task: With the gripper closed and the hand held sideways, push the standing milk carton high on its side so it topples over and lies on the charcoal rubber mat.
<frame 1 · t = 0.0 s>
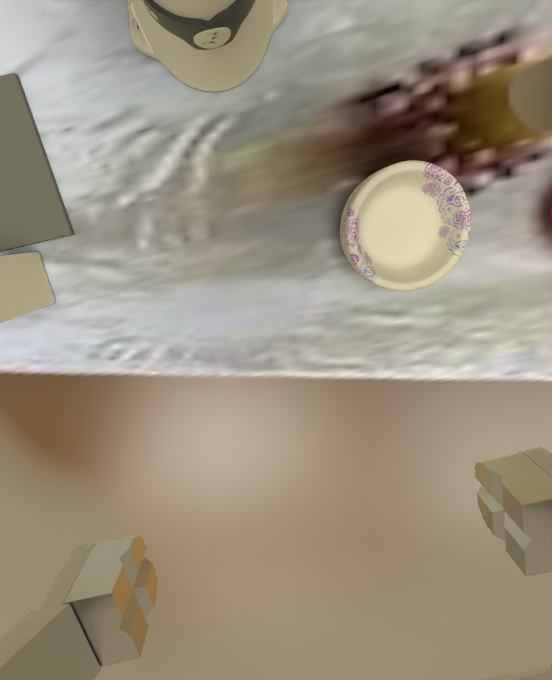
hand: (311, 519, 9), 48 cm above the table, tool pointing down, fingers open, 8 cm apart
milk carton: (23, 281, 54), on the table
paper bowls: (388, 228, 55), on the table
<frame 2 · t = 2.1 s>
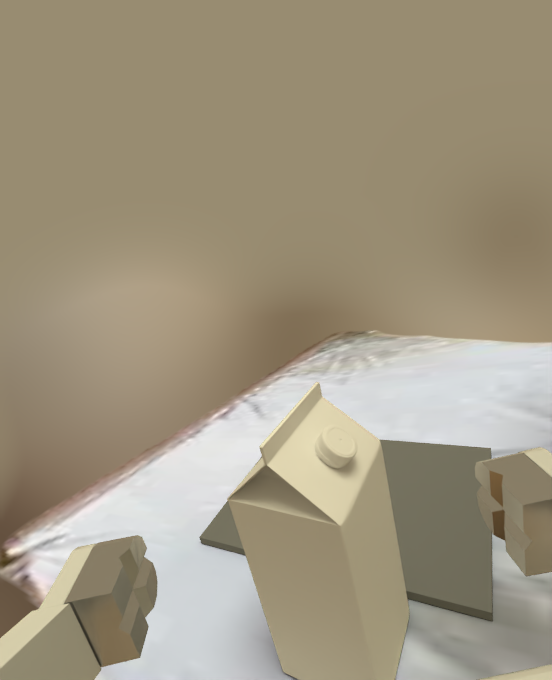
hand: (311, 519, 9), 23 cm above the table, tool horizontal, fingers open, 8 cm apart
milk carton: (349, 645, 28), on the table
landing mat: (351, 497, 41), on the table
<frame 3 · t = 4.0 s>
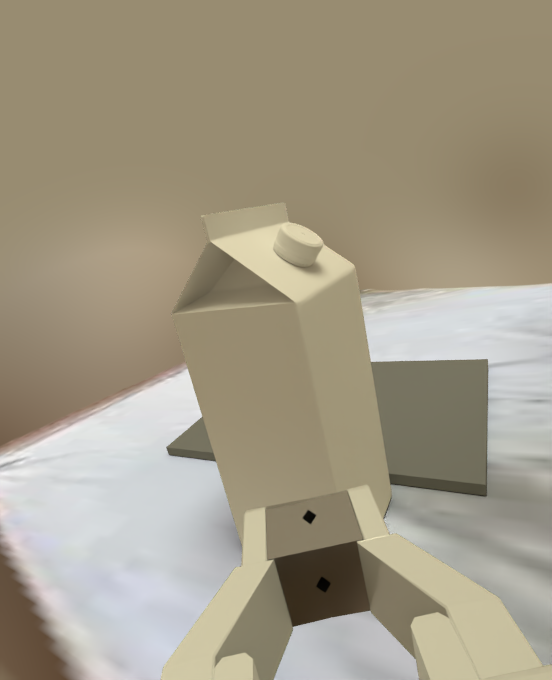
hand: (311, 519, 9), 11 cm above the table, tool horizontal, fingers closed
milk carton: (321, 526, 24), on the table
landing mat: (334, 409, 38), on the table
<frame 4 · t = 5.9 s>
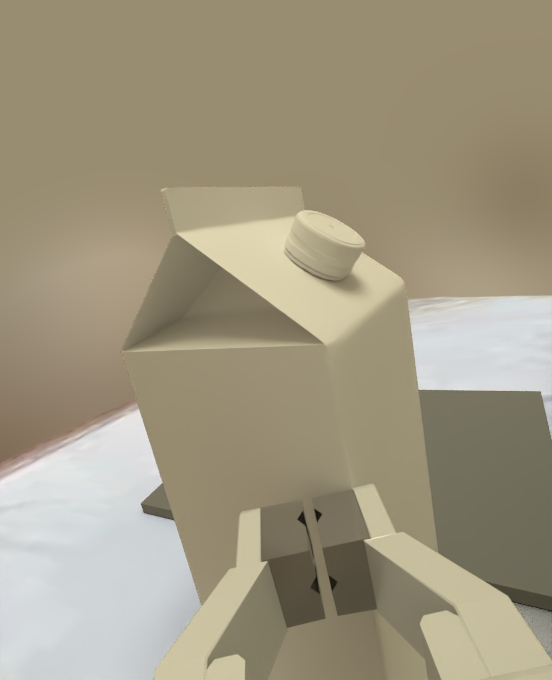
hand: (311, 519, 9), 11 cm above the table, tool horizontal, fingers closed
milk carton: (345, 655, 17), on the table, touching gripper
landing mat: (351, 453, 30), on the table
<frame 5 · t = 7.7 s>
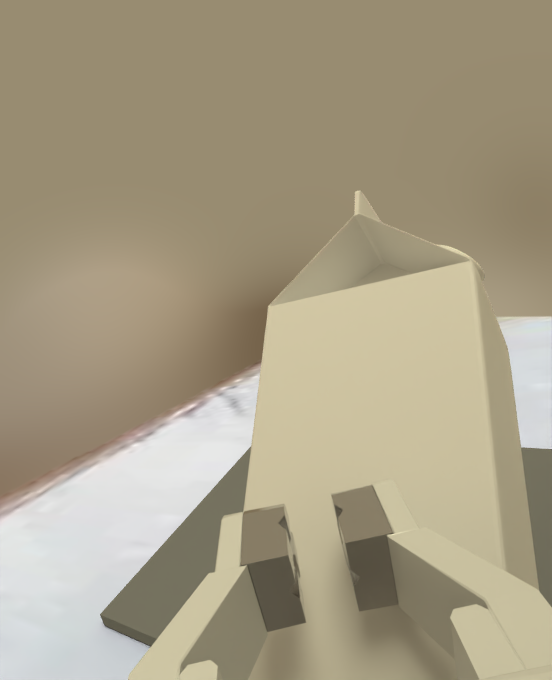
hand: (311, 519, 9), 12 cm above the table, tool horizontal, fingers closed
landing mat: (379, 539, 23), on the table
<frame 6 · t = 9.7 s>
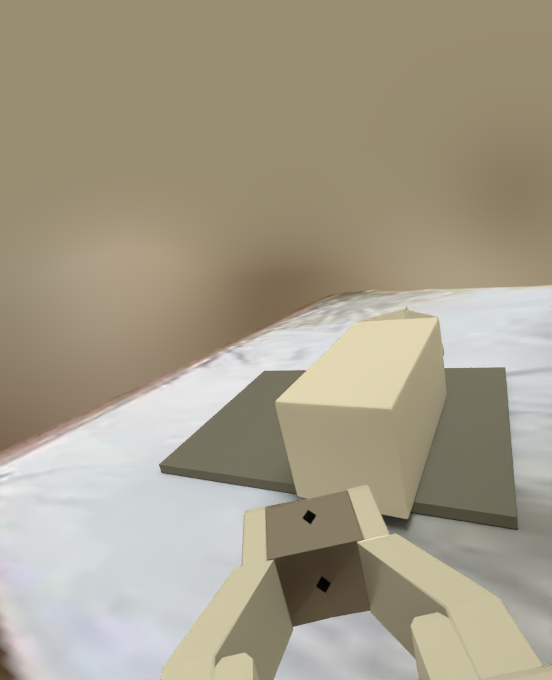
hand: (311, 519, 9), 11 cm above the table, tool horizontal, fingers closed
milk carton: (336, 462, 22), point 4 cm above the table, touching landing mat
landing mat: (340, 422, 35), on the table
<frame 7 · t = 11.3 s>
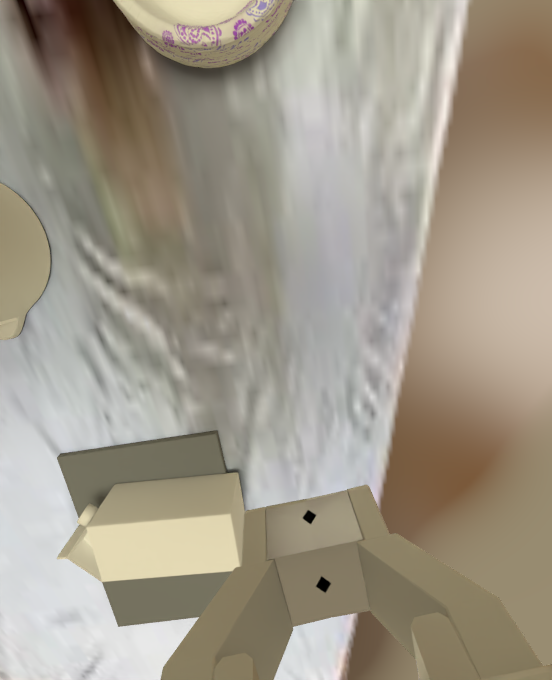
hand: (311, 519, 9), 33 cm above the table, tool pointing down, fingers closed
milk carton: (242, 518, 43), point 4 cm above the table, touching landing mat
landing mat: (165, 533, 49), on the table
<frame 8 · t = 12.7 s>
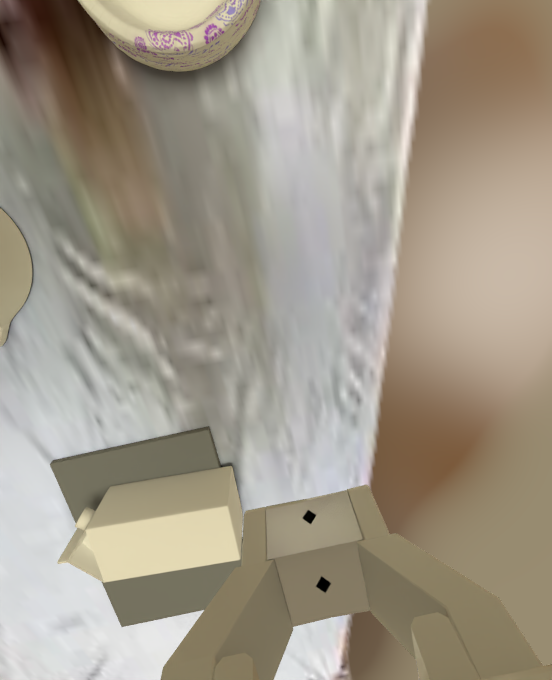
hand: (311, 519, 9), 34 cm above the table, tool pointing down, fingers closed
milk carton: (239, 509, 44), point 4 cm above the table, touching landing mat
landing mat: (163, 531, 50), on the table
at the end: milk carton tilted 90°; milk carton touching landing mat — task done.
